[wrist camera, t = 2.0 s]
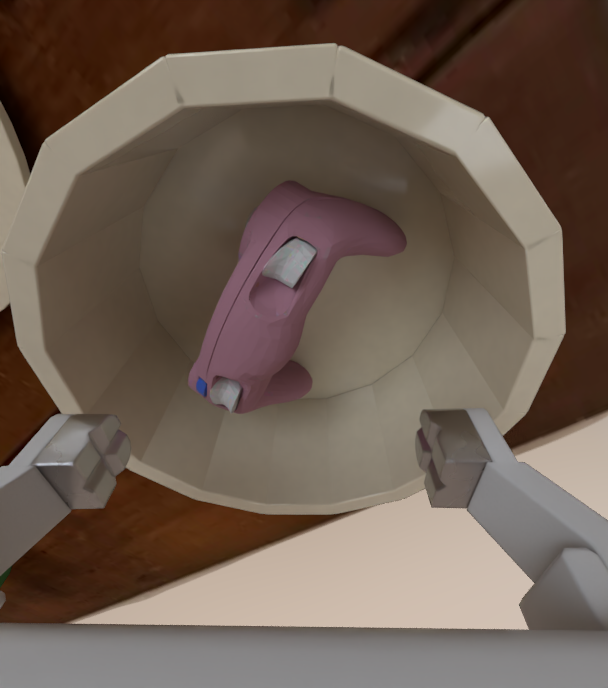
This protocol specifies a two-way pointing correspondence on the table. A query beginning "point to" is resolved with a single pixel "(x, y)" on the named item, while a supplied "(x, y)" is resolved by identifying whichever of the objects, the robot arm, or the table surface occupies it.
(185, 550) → the table surface
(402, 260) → the cream bowl
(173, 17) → the table surface
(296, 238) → the video game controller
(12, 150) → the lid
